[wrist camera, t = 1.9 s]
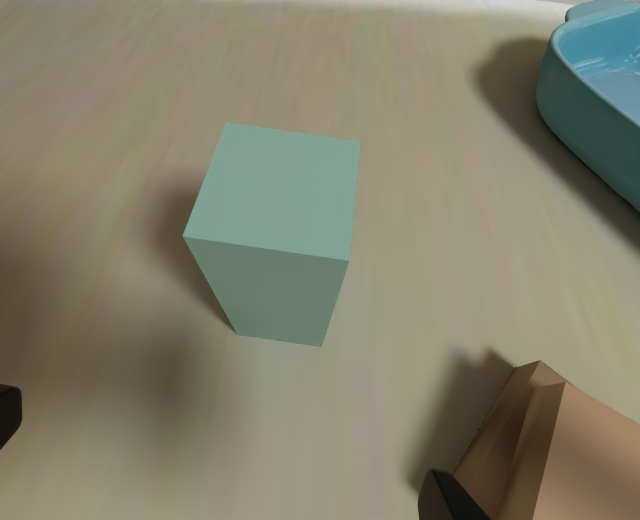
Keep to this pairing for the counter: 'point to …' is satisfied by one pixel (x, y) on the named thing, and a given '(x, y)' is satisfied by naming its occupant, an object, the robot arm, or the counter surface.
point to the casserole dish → (597, 90)
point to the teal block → (276, 229)
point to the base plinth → (501, 437)
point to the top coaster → (573, 461)
